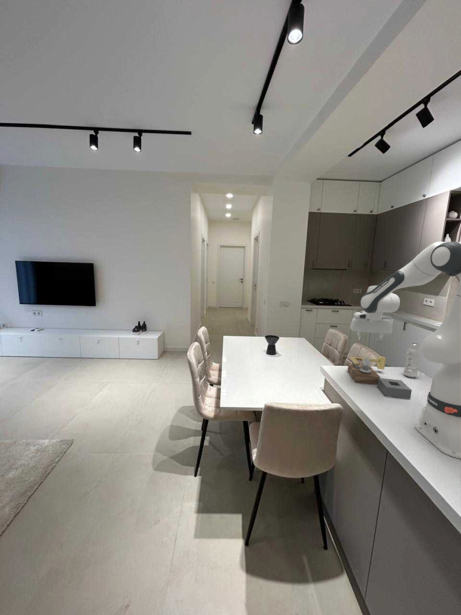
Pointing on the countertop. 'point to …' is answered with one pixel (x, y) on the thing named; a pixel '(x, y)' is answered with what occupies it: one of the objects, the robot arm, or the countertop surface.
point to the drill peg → (365, 366)
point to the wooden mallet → (379, 361)
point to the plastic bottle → (412, 360)
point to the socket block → (362, 375)
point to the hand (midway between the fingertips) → (369, 340)
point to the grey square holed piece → (394, 388)
